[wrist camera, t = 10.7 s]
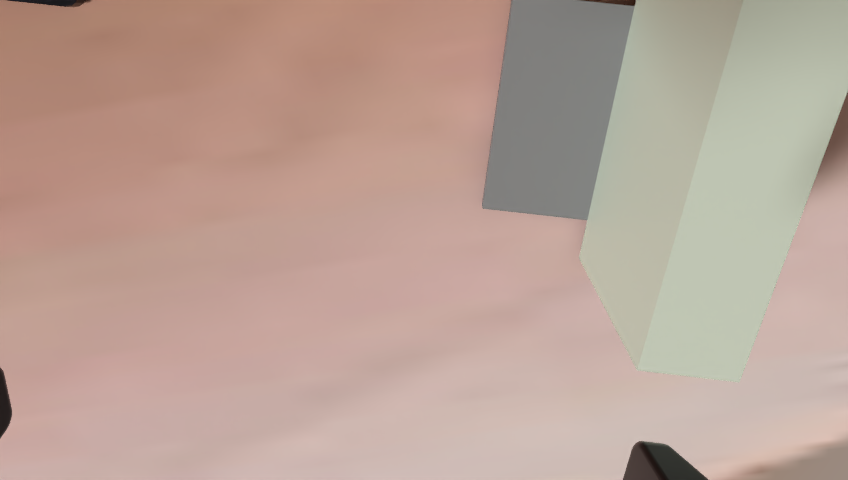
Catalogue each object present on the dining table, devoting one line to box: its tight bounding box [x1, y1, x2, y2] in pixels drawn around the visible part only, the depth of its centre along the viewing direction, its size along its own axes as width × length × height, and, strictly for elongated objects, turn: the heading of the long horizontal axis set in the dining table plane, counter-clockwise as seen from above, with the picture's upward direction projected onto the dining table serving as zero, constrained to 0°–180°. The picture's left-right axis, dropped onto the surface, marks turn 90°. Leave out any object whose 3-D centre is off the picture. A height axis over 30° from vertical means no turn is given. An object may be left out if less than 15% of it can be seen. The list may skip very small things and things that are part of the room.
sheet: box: [579, 0, 848, 382], centre depth 15 cm, size 2×10×7 cm, turn 175°
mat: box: [482, 0, 635, 220], centre depth 18 cm, size 10×7×1 cm
